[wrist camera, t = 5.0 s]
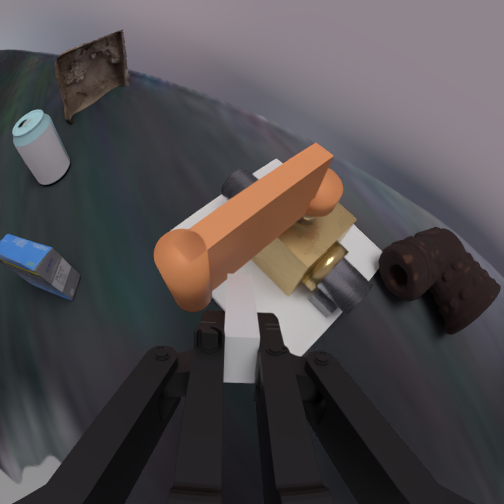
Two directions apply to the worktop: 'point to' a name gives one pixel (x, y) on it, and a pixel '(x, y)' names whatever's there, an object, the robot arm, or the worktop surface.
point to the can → (41, 147)
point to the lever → (245, 226)
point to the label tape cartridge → (39, 266)
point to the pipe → (439, 276)
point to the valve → (309, 255)
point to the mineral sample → (91, 72)
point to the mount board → (297, 304)
